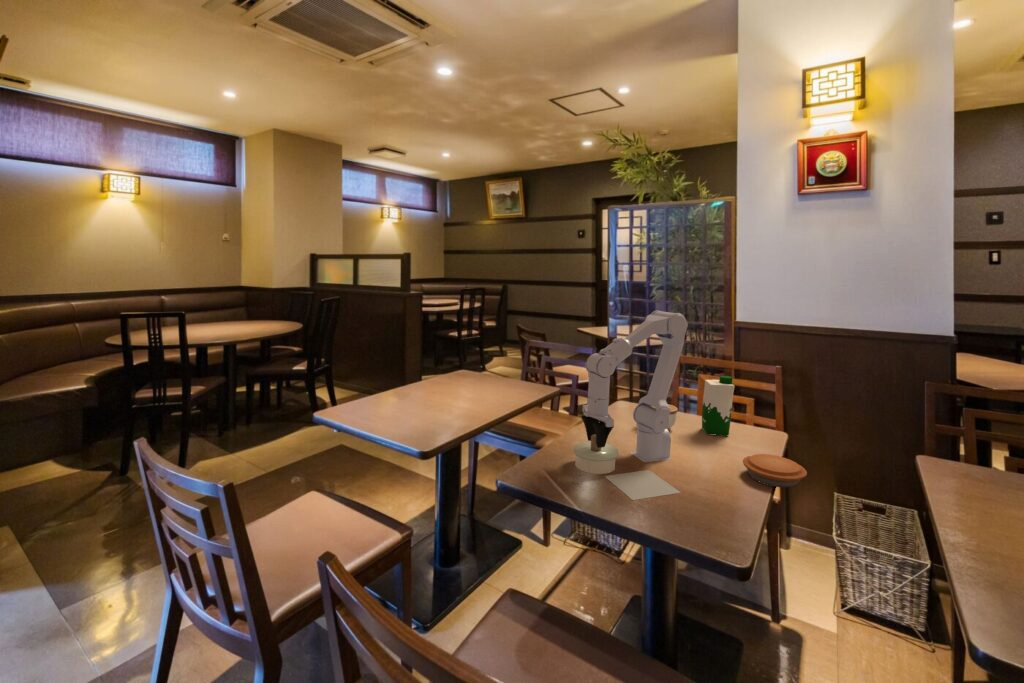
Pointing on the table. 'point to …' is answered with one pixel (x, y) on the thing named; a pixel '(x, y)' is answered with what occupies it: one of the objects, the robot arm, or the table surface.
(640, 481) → the mat
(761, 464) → the pie
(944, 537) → the table surface
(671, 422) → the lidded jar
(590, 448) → the lid
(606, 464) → the bowl
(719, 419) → the milk carton
